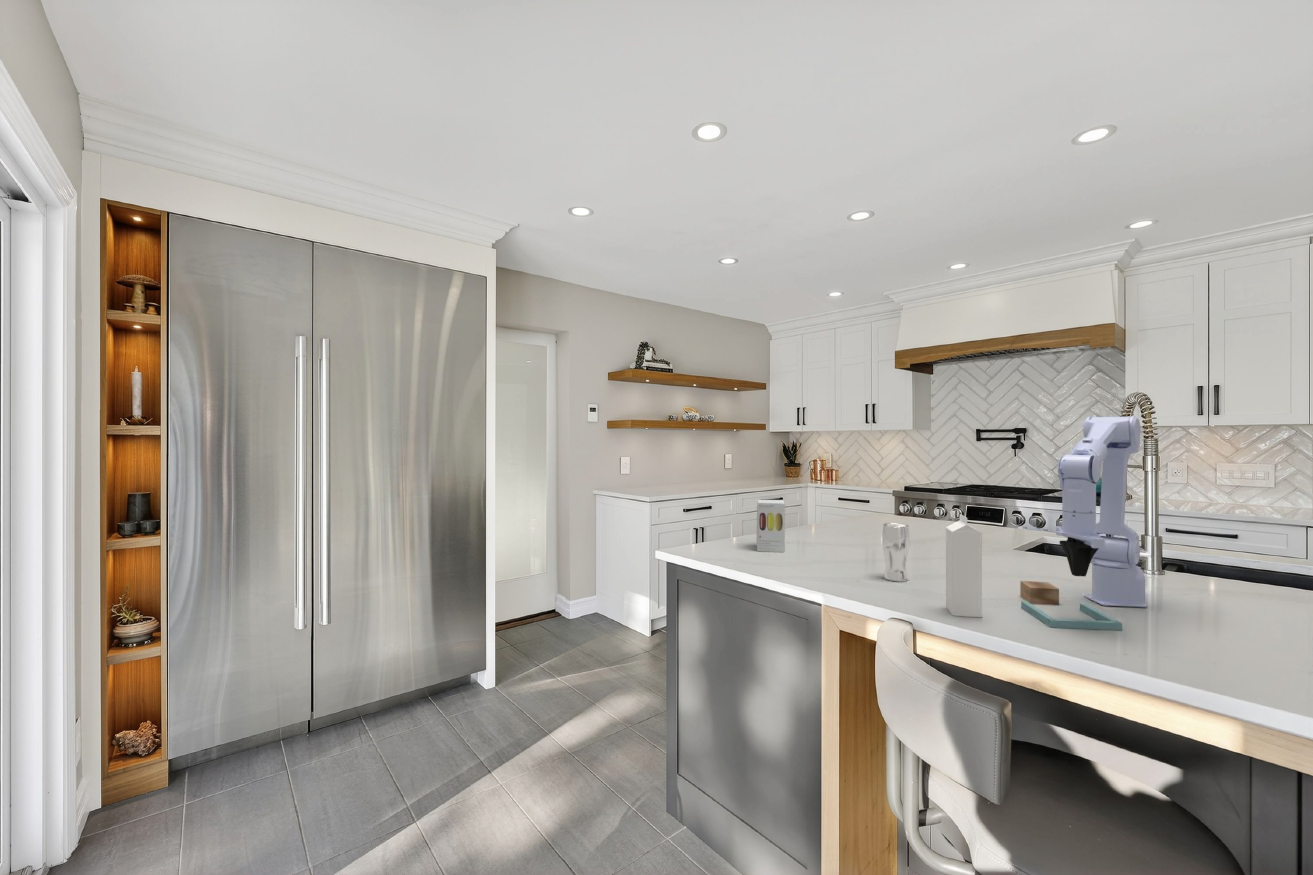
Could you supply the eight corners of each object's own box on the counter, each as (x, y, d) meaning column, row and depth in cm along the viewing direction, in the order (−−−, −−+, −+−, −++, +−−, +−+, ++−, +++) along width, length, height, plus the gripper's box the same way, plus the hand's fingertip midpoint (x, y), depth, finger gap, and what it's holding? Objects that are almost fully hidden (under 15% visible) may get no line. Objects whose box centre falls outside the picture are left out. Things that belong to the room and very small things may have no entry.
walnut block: (1047, 598, 140) (1047, 582, 140) (1058, 605, 134) (1059, 589, 134) (1020, 597, 142) (1020, 580, 141) (1030, 604, 136) (1030, 587, 136)
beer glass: (912, 582, 154) (912, 527, 154) (884, 581, 156) (884, 526, 156) (906, 576, 161) (906, 523, 161) (880, 575, 163) (880, 522, 162)
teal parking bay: (1085, 610, 130) (1085, 603, 130) (1122, 630, 117) (1122, 623, 117) (1021, 607, 133) (1021, 601, 133) (1050, 627, 120) (1050, 620, 120)
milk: (952, 616, 127) (951, 517, 127) (945, 607, 133) (944, 513, 133) (982, 617, 126) (982, 518, 126) (974, 609, 132) (973, 513, 131)
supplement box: (756, 551, 195) (756, 502, 195) (756, 546, 204) (756, 499, 204) (785, 552, 193) (785, 502, 193) (784, 546, 202) (783, 499, 202)
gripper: (1041, 506, 129) (1041, 566, 129) (1077, 516, 114) (1076, 584, 115) (1075, 506, 127) (1075, 567, 128) (1116, 517, 113) (1116, 585, 113)
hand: (1078, 575), depth 121 cm, fingers closed
